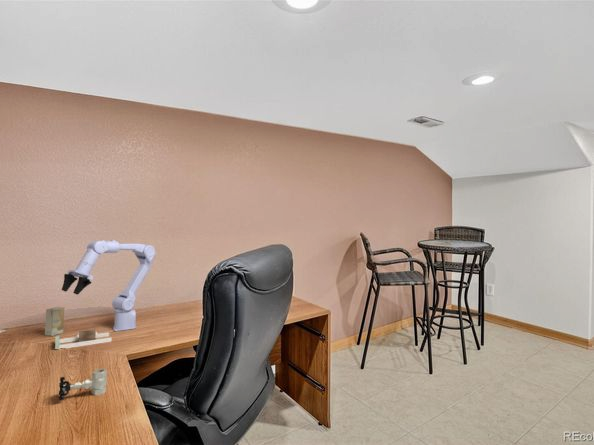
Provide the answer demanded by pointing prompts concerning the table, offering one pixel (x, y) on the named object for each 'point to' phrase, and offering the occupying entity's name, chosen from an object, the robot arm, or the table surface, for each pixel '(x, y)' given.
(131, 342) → the table surface
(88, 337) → the block
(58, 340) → the lane
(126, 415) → the table surface
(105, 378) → the valve
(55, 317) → the skincare box
